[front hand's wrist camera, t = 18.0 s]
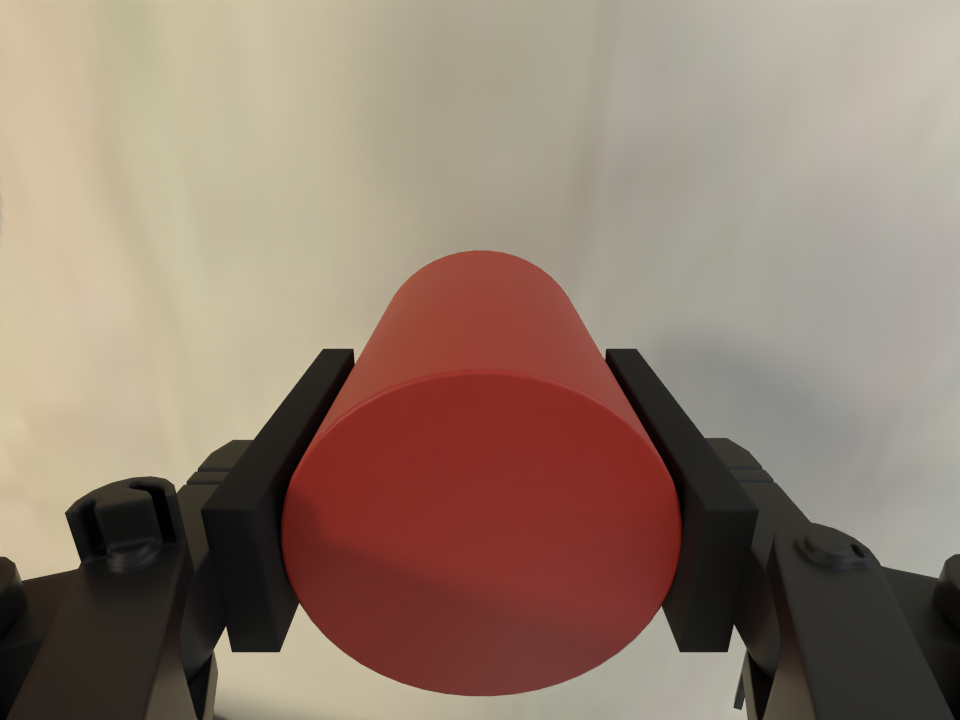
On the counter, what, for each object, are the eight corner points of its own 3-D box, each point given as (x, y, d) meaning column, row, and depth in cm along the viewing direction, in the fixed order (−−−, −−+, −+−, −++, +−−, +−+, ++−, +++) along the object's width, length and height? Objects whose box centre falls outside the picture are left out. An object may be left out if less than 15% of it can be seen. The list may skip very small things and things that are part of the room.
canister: (421, 461, 19) (372, 730, 10) (347, 288, 17) (204, 445, 8) (603, 408, 18) (715, 650, 9) (550, 220, 16) (635, 311, 7)
